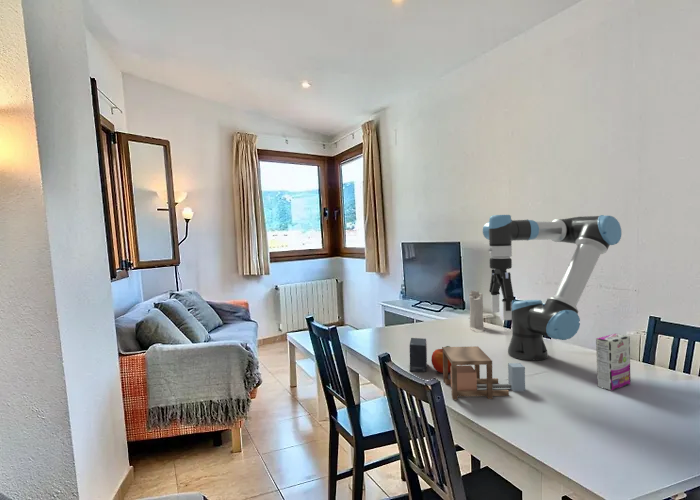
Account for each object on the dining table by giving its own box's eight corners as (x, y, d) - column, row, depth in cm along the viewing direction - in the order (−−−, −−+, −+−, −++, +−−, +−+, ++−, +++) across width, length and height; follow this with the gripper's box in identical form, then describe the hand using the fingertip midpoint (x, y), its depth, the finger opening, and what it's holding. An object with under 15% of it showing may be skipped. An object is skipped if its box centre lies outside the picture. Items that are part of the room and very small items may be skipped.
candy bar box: (615, 380, 141) (615, 332, 140) (631, 384, 137) (630, 335, 136) (595, 386, 136) (595, 337, 135) (611, 391, 132) (610, 341, 131)
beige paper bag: (472, 332, 212) (471, 293, 211) (469, 325, 226) (468, 289, 225) (486, 332, 211) (486, 293, 210) (482, 326, 225) (481, 289, 224)
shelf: (495, 380, 144) (494, 346, 144) (511, 398, 128) (510, 360, 128) (443, 381, 145) (442, 347, 144) (453, 399, 129) (452, 361, 128)
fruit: (440, 365, 162) (439, 340, 161) (462, 371, 155) (461, 344, 154) (426, 372, 155) (425, 345, 155) (448, 377, 148) (447, 350, 148)
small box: (426, 372, 154) (426, 345, 154) (409, 371, 156) (408, 344, 155) (427, 363, 165) (426, 337, 164) (411, 363, 166) (410, 337, 166)
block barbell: (518, 384, 140) (518, 361, 139) (526, 392, 133) (526, 368, 132) (450, 385, 140) (450, 362, 140) (455, 394, 133) (454, 369, 133)
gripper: (480, 255, 161) (481, 309, 162) (500, 260, 136) (501, 323, 137) (500, 255, 160) (500, 309, 161) (523, 259, 135) (524, 323, 136)
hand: (501, 315), depth 149 cm, fingers open, 13 cm apart
